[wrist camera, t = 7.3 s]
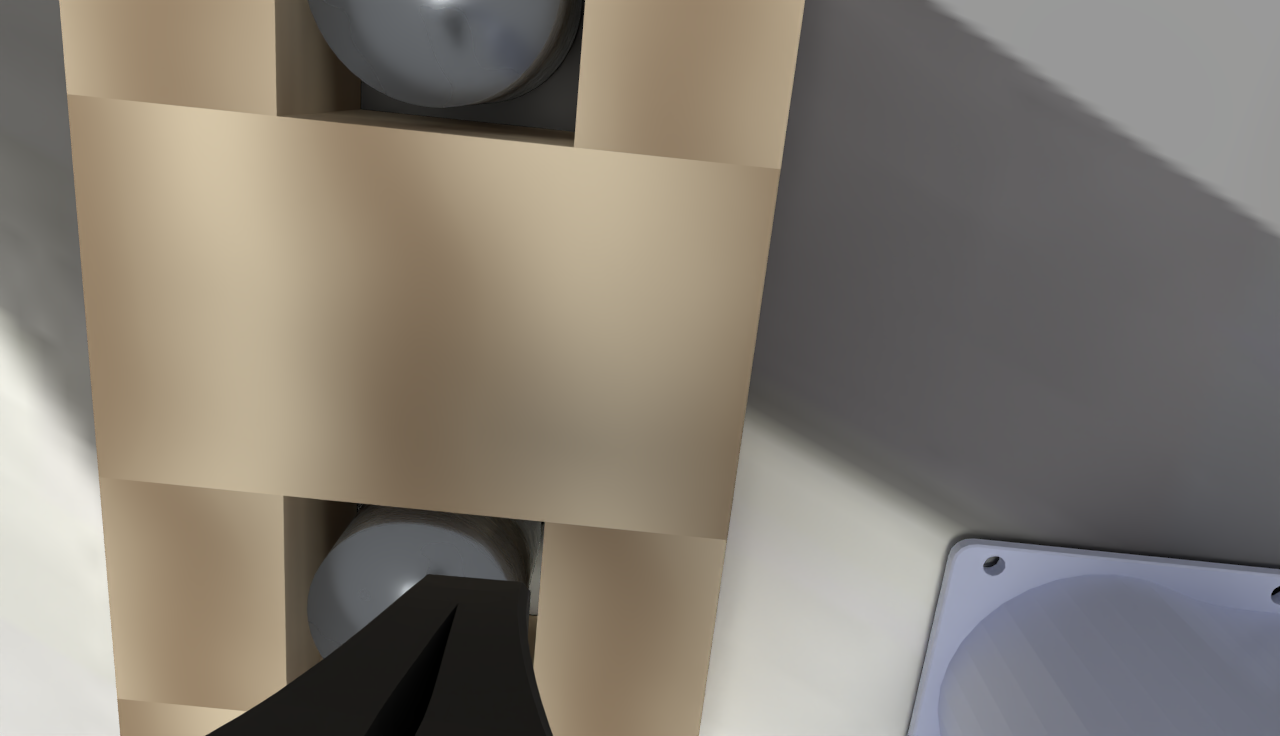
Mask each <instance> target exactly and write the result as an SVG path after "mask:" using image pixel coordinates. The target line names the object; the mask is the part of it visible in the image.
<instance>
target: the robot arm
mask: <svg viewBox="0 0 1280 736" xmlns="http://www.w3.org/2000/svg"><path fill="white" fill-rule="evenodd" d="M993 556H998V557H999V561H998V562H997V564H996V565H994V566H992V567H987V568H986V567H983V564H984V563H985V561H986V560H987V559H988V558H990V557H993ZM1279 586H1280V569H1272V568H1262V567H1252V566H1243V565H1233V564H1223V563H1213V562H1203V561H1193V560H1183V559H1173V558H1163V557H1153V556H1143V555H1133V554H1123V553H1113V552H1103V551H1093V550H1084V549H1074V548H1064V547H1054V546H1044V545H1034V544H1024V543H1014V542H1004V541H994V540H984V539H974V538H972V539H964V540H962V541H959V542H957V543H956V544H955V545H954V546H953V547H952V548H951V551H950V553H949V555H948V560H947V564H946V568H945V573H944V577H943V582H942V586H941V590H940V595H939V599H938V604H937V608H936V612H935V617H934V621H933V626H932V630H931V634H930V639H929V643H928V648H927V652H926V656H925V661H924V665H923V670H922V674H921V678H920V683H919V687H918V692H917V696H916V701H915V705H914V709H913V714H912V718H911V723H910V727H909V731H908V736H1280V592H1278V593H1277V594H1275V595H1271V593H1272V592H1273V590H1274V589H1275V588H1277V587H1279ZM529 608H530V590H529V589H528V588H527V587H526V585H525V584H524V583H523V582H517V581H505V580H494V579H482V578H470V577H458V576H447V575H435V574H427V575H426V576H425V577H424V578H422V579H421V580H420V581H419V582H417V583H416V584H415V585H414V586H412V587H411V588H410V589H409V590H407V591H406V592H405V593H404V594H403V595H402V596H400V597H399V598H398V599H397V600H396V601H394V602H393V603H392V604H391V605H390V606H389V607H387V608H386V609H385V610H384V611H383V612H381V613H380V614H379V615H378V616H377V617H375V618H374V619H373V620H372V621H371V622H369V623H368V624H367V625H366V626H365V627H363V628H362V629H361V630H360V631H358V632H357V633H356V634H355V635H353V636H352V637H351V638H350V639H348V640H347V641H346V642H345V643H343V644H342V645H341V646H340V647H338V648H337V649H336V650H334V651H333V652H332V653H331V654H329V655H328V656H327V657H326V658H324V659H323V660H321V661H320V662H319V663H317V664H316V665H314V666H313V667H312V668H310V669H309V670H307V671H306V672H305V673H303V674H302V675H300V676H299V677H298V678H296V679H295V680H293V681H292V682H291V683H289V684H288V685H286V686H285V687H283V688H282V689H281V690H279V691H278V692H276V693H275V694H273V695H272V696H270V697H269V698H267V699H266V700H264V701H263V702H261V703H259V704H258V705H256V706H255V707H253V708H251V709H250V710H248V711H247V712H245V713H243V714H242V715H240V716H238V717H237V718H235V719H233V720H231V721H230V722H228V723H226V724H224V725H223V726H221V727H219V728H217V729H216V730H214V731H212V732H211V733H209V734H207V735H205V736H553V734H552V731H551V728H550V725H549V722H548V719H547V716H546V713H545V710H544V707H543V704H542V701H541V697H540V694H539V690H538V686H537V683H536V678H535V673H534V669H533V664H532V660H531V655H530V650H529V643H528V627H529Z"/></svg>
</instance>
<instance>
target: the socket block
mask: <svg viewBox="0 0 1280 736" xmlns="http://www.w3.org/2000/svg"><path fill="white" fill-rule="evenodd" d="M59 2H60V14H61V26H62V38H63V50H64V62H65V74H66V86H67V98H68V110H69V122H70V134H71V146H72V158H73V170H74V182H75V194H76V206H77V218H78V230H79V242H80V255H81V267H82V279H83V291H84V303H85V315H86V327H87V339H88V351H89V363H90V375H91V387H92V399H93V411H94V423H95V435H96V447H97V459H98V471H99V483H100V495H101V507H102V520H103V532H104V544H105V556H106V568H107V580H108V592H109V604H110V616H111V628H112V640H113V652H114V664H115V676H116V688H117V700H118V712H119V724H120V736H205V735H207V734H209V733H211V732H212V731H214V730H216V729H217V728H219V727H221V726H223V725H224V724H226V723H228V722H230V721H231V720H233V719H235V718H237V717H238V716H240V715H242V714H243V713H245V712H247V711H248V710H250V709H251V708H253V707H255V706H256V705H258V704H259V703H261V702H263V701H264V700H266V699H267V698H269V697H270V696H272V695H273V694H275V693H276V692H278V691H279V690H281V689H282V688H283V687H285V686H286V685H288V684H289V683H291V682H292V681H293V680H295V679H296V678H298V677H299V676H300V675H302V674H303V673H305V672H306V671H307V670H309V669H310V668H312V667H313V666H314V665H316V664H317V663H319V662H320V661H321V660H323V657H322V656H321V654H320V653H319V651H318V649H317V647H316V645H315V643H314V640H313V638H312V635H311V632H310V628H309V624H308V615H307V602H308V594H309V590H310V586H311V583H312V580H313V578H314V575H315V573H316V572H317V570H318V568H319V567H320V565H321V563H322V562H323V561H324V559H325V558H326V556H327V555H328V553H329V552H330V551H331V549H332V548H333V546H334V545H335V543H336V542H337V541H338V539H339V538H340V536H341V535H342V534H343V532H344V531H345V529H346V528H347V526H348V525H349V524H350V522H351V521H352V519H353V518H354V516H355V515H356V514H357V503H362V504H372V505H382V506H392V507H402V508H412V509H422V510H432V511H442V512H452V513H462V514H472V515H482V516H492V517H502V518H512V519H521V520H531V521H541V522H545V526H544V539H543V552H542V565H541V578H540V590H539V603H538V616H532V615H529V627H528V643H529V650H530V655H531V660H532V664H533V669H534V673H535V678H536V683H537V686H538V690H539V694H540V697H541V701H542V704H543V707H544V710H545V713H546V716H547V719H548V722H549V725H550V728H551V731H552V734H553V736H699V729H700V723H701V716H702V709H703V702H704V695H705V688H706V681H707V674H708V667H709V660H710V653H711V647H712V640H713V633H714V626H715V619H716V612H717V605H718V598H719V591H720V584H721V577H722V571H723V564H724V557H725V550H726V543H727V536H728V529H729V522H730V515H731V508H732V501H733V494H734V488H735V481H736V474H737V467H738V460H739V453H740V446H741V439H742V432H743V425H744V418H745V412H746V405H747V398H748V391H749V384H750V377H751V370H752V363H753V356H754V349H755V342H756V336H757V329H758V322H759V315H760V308H761V301H762V294H763V287H764V280H765V273H766V266H767V259H768V253H769V246H770V239H771V232H772V225H773V218H774V211H775V204H776V197H777V190H778V183H779V177H780V170H781V163H782V156H783V149H784V142H785V135H786V128H787V121H788V114H789V107H790V101H791V94H792V87H793V80H794V73H795V66H796V59H797V52H798V45H799V38H800V31H801V25H802V18H803V11H804V4H805V0H585V11H584V23H583V36H582V49H581V62H580V75H579V88H578V101H577V114H576V127H575V132H570V131H561V130H551V129H542V128H532V127H523V126H514V125H504V124H495V123H485V122H476V121H466V120H457V119H447V118H438V117H428V116H419V115H409V114H400V113H390V112H381V111H371V110H362V109H361V79H360V78H358V77H357V76H356V75H355V74H354V73H352V72H351V71H350V70H349V69H348V68H347V67H346V66H345V65H344V64H343V63H342V62H341V61H340V60H339V58H338V57H337V56H336V54H335V53H334V52H333V50H332V49H331V48H330V47H329V45H328V44H327V42H326V40H325V39H324V37H323V35H322V34H321V32H320V30H319V28H318V26H317V24H316V22H315V19H314V17H313V15H312V13H311V10H310V7H309V3H308V0H59Z"/></svg>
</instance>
